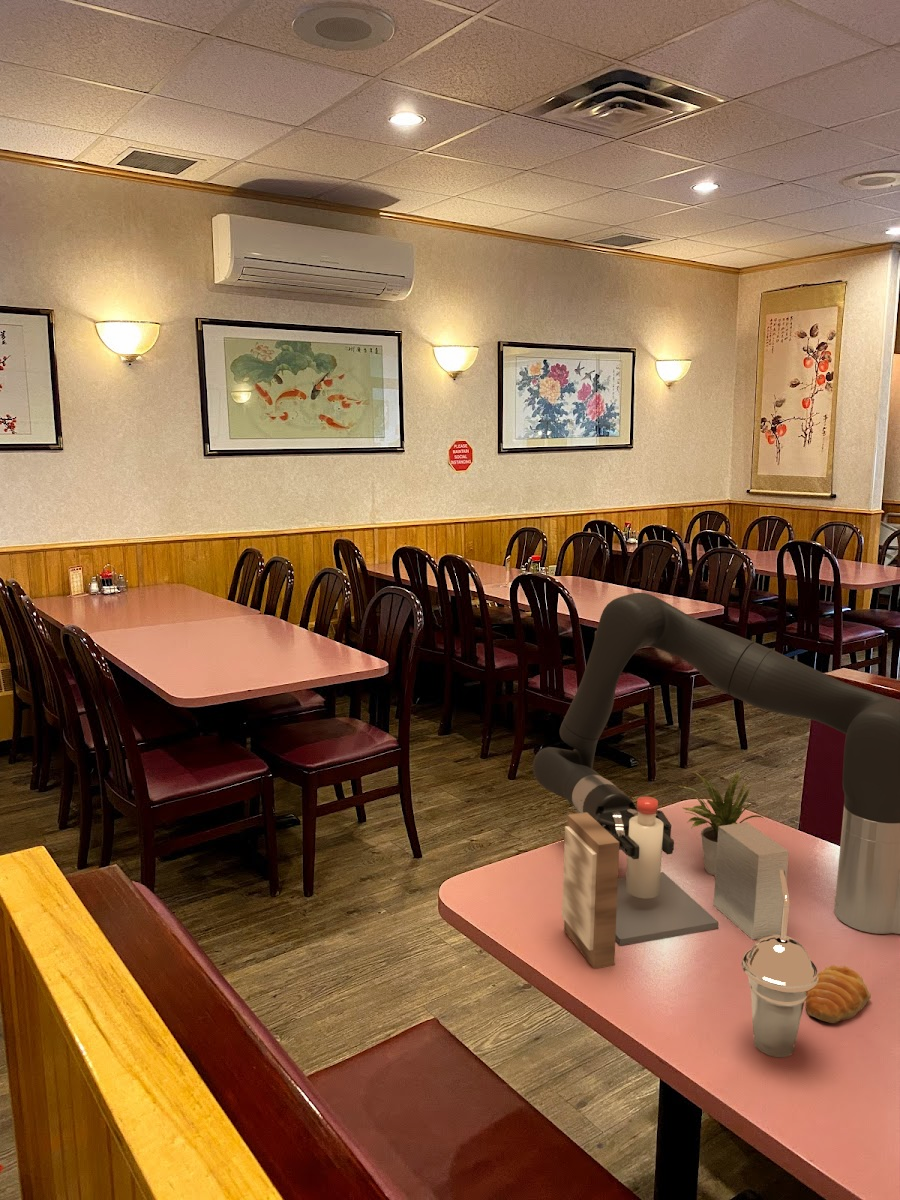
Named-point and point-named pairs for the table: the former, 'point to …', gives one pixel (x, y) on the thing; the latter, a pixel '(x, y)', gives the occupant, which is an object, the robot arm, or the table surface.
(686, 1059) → the table surface
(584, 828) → the stand
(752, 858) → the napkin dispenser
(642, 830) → the sauce bottle
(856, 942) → the table surface
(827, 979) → the pastry
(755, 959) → the cup with straw
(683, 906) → the slate tray
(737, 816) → the house plant
